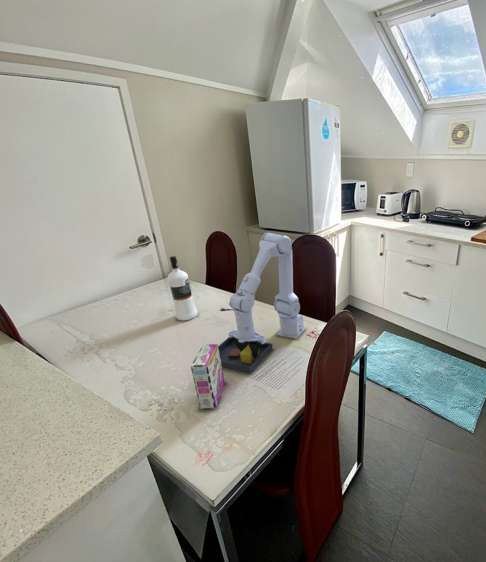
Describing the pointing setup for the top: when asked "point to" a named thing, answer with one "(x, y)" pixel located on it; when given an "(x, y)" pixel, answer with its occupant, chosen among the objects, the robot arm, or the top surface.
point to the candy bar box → (208, 376)
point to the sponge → (247, 355)
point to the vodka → (181, 292)
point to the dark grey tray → (236, 362)
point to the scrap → (234, 353)
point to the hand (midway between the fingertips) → (250, 355)
